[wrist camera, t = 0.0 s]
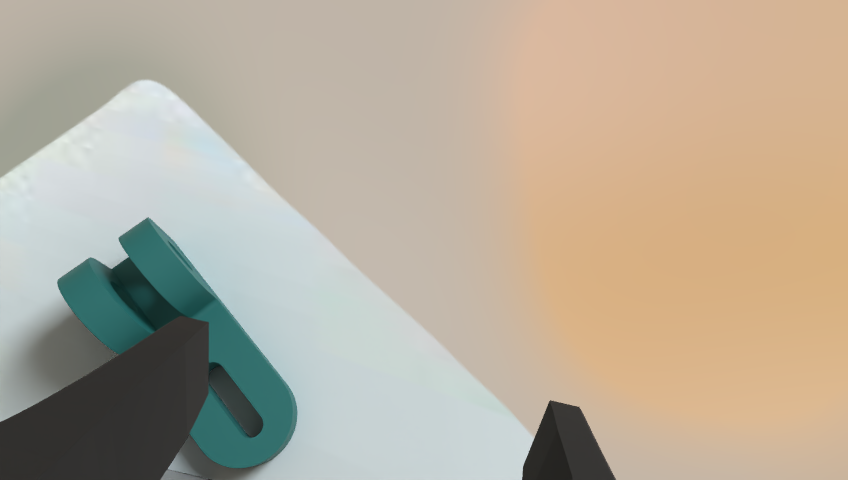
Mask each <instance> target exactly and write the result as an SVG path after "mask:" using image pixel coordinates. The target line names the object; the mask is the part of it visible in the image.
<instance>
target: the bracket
mask: <svg viewBox="0 0 848 480" xmlns="http://www.w3.org/2000/svg"><path fill="white" fill-rule="evenodd" d="M119 241H120V243H121V245H122V247H123V249H124V250H125V252H126V253H127V254H128V256H129V257H128V258H127V259H125V260H124V261H123V262H121V263H120V264H118V265H117V266H116V267H114V268H113V269H110V268H108V267H107V266H105V265H104V264H102V263H101V262H99V261H97V260H96V259H94V258H88V259H87V260H86V261H84V262H83V263H81V264H80V265H78V266H77V267H75V268H74V269H73V270H71V271H70V272H68V273H67V274H65V275H64V276H62V277H61V278H60V279H58V282H57V283H58V287H59V290H60V292H61V294H62V296H63V298H64V299H65V301H66V302H67V304H68V305H69V307H70V308H71V309H72V311H73V312H74V313H75V315H76V316H77V317H78V318H79V319H80V321H81V322H82V323H83V324H84V325H85V326H86V327H87V328H88V329H89V330H90V331H91V332H92V333H93V334H94V335H95V336H96V337H97V338H98V339H99V340H100V341H101V342H102V343H104V344H105V345H106V346H107V347H109V348H110V349H111V350H113V351H114V352H116V353H118V354H122V353H123V352H125V351H126V350H128V349H129V348H131V347H132V346H134V345H136V344H137V343H139V342H140V341H142V340H143V339H145V338H146V337H148V336H149V335H151V334H152V333H154V332H155V331H157V330H158V329H160V328H162V327H163V326H165V325H166V324H168V323H169V322H171V321H173V320H174V319H176V318H177V317H179V316H184V317H188V318H193V319H197V320H202V321H206V322H209V373H210V371H211V370H212V369H213V368H215V367H217V366H222V367H223V368H224V369H225V370H226V372H227V373H228V374H229V376H230V377H231V378H232V380H233V381H234V382H235V383H236V385H237V386H238V387H239V389H240V390H241V391H242V393H243V394H244V395H245V397H246V398H247V399H248V400H249V402H250V403H251V404H252V406H253V407H254V408H255V410H256V411H257V412H258V413H259V415H260V416H261V418H262V420H263V428H262V431H261V432H260V433H259V434H258V435H257V436H256V437H253V438H252V437H250V436H249V435H248V434H247V433H246V432H245V431H244V429H243V428H242V427H241V425H240V424H239V423H238V421H237V420H236V419H235V417H234V416H233V415H232V413H231V412H230V411H229V409H228V408H227V407H226V405H225V404H224V403H223V401H222V400H221V399H220V397H219V396H218V395H217V393H216V392H215V391H214V389H213V388H212V387H211V385H210V384H209V394H208V396H207V398H206V400H205V402H204V405H203V407H202V409H201V411H200V413H199V415H198V417H197V419H196V421H195V423H194V425H193V427H192V429H191V431H190V433H189V434H190V435H191V436H192V438H193V439H194V440H195V442H196V443H197V445H198V446H199V447H200V449H201V450H202V451H203V452H204V454H205V455H206V456H207V457H208V458H210V459H211V460H212V461H214V462H216V463H217V464H220V465H222V466H226V467H230V468H246V467H252V466H257V465H260V464H263V463H265V462H268V461H269V460H271V459H273V458H274V457H275V456H277V455H278V454H279V453H280V452H281V451H282V450H283V449H284V448H285V447H286V445H287V444H288V442H289V441H290V439H291V437H292V435H293V433H294V430H295V426H296V422H297V406H296V401H295V398H294V395H293V393H292V391H291V389H290V388H289V386H288V385H287V384H286V382H285V381H284V380H283V379H282V377H281V376H280V375H279V374H278V372H277V371H276V370H275V369H274V367H273V366H272V365H271V363H270V362H269V361H268V360H267V358H266V357H265V356H264V355H263V353H262V352H261V351H260V350H259V348H258V347H257V346H256V345H255V343H254V342H253V341H252V339H251V338H250V337H249V336H248V334H247V333H246V332H245V331H244V329H243V328H242V327H241V326H240V324H239V323H238V322H237V320H236V319H235V318H234V317H233V315H232V314H231V313H230V312H229V310H228V309H227V308H226V307H225V305H224V304H223V303H222V301H221V300H220V299H219V298H218V296H217V295H216V294H215V293H214V291H213V290H212V289H211V288H210V286H209V285H208V284H207V282H206V281H205V280H204V279H203V277H202V276H201V275H200V274H199V272H198V271H197V270H196V269H195V267H194V266H193V265H192V263H191V262H190V261H189V260H188V258H187V257H186V256H185V255H184V253H183V252H182V251H181V250H180V248H179V247H178V246H177V244H176V243H175V242H174V241H173V240H172V239H171V238H170V237H169V236H168V235H167V234H166V233H165V232H164V231H163V230H162V229H161V228H160V227H159V226H157V225H156V224H155V223H154V222H153V221H152V220H151V219H150V218H146V219H145V220H143V221H142V222H141V223H139V224H138V225H136V226H135V227H133V228H132V229H130V230H129V231H128V232H126V233H125V234H123V235H122V236H120V237H119Z"/></svg>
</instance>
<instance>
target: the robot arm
mask: <svg viewBox="0 0 848 480" xmlns="http://www.w3.org/2000/svg"><path fill="white" fill-rule="evenodd" d="M208 394H209V322H206V321H202V320H197V319H193V318H188V317H184V316H179V317H177V318H176V319H174V320H173V321H171V322H169V323H168V324H166V325H165V326H163V327H162V328H160V329H158V330H157V331H155V332H154V333H152V334H151V335H149V336H148V337H146V338H145V339H143V340H142V341H140V342H139V343H137V344H136V345H134V346H132V347H131V348H129V349H128V350H126V351H125V352H123V353H122V354H120V355H118V356H117V357H115V358H114V359H112V360H110V361H109V362H107V363H106V364H104V365H102V366H101V367H99V368H97V369H96V370H94V371H93V372H91V373H89V374H88V375H86V376H84V377H83V378H81V379H79V380H78V381H76V382H74V383H72V384H71V385H69V386H67V387H65V388H64V389H62V390H60V391H58V392H57V393H55V394H53V395H51V396H50V397H48V398H46V399H44V400H42V401H41V402H39V403H37V404H35V405H33V406H31V407H30V408H28V409H26V410H24V411H22V412H20V413H18V414H16V415H14V416H12V417H10V418H8V419H6V420H4V421H2V422H0V480H161V478H162V477H163V475H164V473H165V472H166V470H167V469H168V467H169V466H170V464H171V463H172V461H173V459H174V458H175V456H176V455H177V453H178V452H179V450H180V448H181V447H182V445H183V444H184V442H185V441H186V439H187V437H188V435H189V433H190V431H191V429H192V427H193V425H194V423H195V421H196V419H197V417H198V415H199V413H200V411H201V409H202V407H203V405H204V402H205V400H206V398H207V396H208ZM522 480H616V479H615V477H614V475H613V473H612V471H611V469H610V467H609V465H608V463H607V462H606V459H605V457H604V456H603V454H602V452H601V450H600V448H599V446H598V443H597V442H596V439H595V437H594V436H593V433H592V431H591V429H590V427H589V425H588V423H587V421H586V419H585V417H584V415H583V413H582V411H581V409H580V408H579V407H577V406H572V405H567V404H563V403H559V402H554V401H549V404H548V406H547V409H546V411H545V414H544V416H543V419H542V421H541V424H540V427H539V429H538V431H537V434H536V436H535V438H534V441H533V443H532V446H531V448H530V451H529V453H528V456H527V458H526V461H525V463H524V466H523V477H522Z"/></svg>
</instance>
